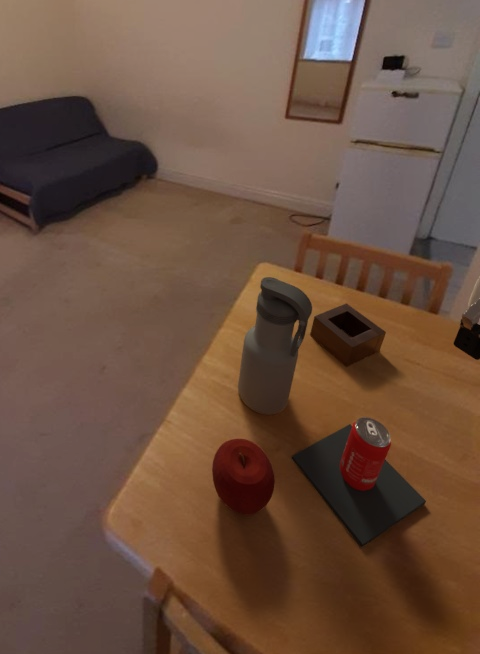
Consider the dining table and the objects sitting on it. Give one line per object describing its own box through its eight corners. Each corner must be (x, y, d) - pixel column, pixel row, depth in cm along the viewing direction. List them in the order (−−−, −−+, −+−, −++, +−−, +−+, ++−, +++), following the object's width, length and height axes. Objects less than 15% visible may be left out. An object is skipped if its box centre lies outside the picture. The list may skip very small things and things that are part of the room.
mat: (349, 427, 76) (350, 423, 75) (424, 504, 64) (426, 501, 64) (291, 458, 71) (292, 455, 71) (361, 548, 60) (362, 544, 59)
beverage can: (342, 489, 66) (358, 444, 60) (335, 457, 70) (349, 412, 65) (377, 497, 65) (397, 451, 59) (368, 464, 69) (385, 419, 64)
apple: (279, 492, 67) (288, 456, 62) (252, 545, 60) (259, 509, 56) (228, 453, 73) (233, 417, 68) (198, 497, 66) (201, 461, 62)
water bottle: (296, 391, 83) (321, 284, 71) (279, 428, 76) (303, 316, 64) (249, 366, 89) (264, 263, 76) (229, 398, 82) (242, 290, 70)
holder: (341, 321, 100) (346, 303, 97) (379, 351, 91) (386, 332, 89) (310, 335, 96) (314, 316, 94) (346, 367, 88) (352, 347, 85)
